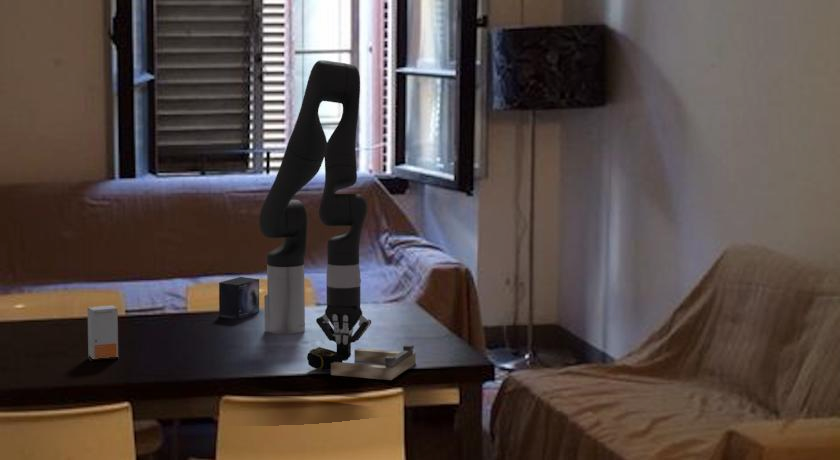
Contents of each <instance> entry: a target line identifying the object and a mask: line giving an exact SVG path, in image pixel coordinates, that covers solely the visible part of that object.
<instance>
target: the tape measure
mask: <svg viewBox="0 0 840 460" xmlns="http://www.w3.org/2000/svg"><path fill="white" fill-rule="evenodd" d="M306 359H307V364H308V366H309V367H310V368H313V369H316V370H320V371H327V370H330V371H331V363H333V362H343V356H342V354H340V353H338V352H337V351H335V350H332V349H328V348H324V347H320V346H318V347H316V348H312V349H311V350H309V352H308V353H307V356H306Z"/></svg>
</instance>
